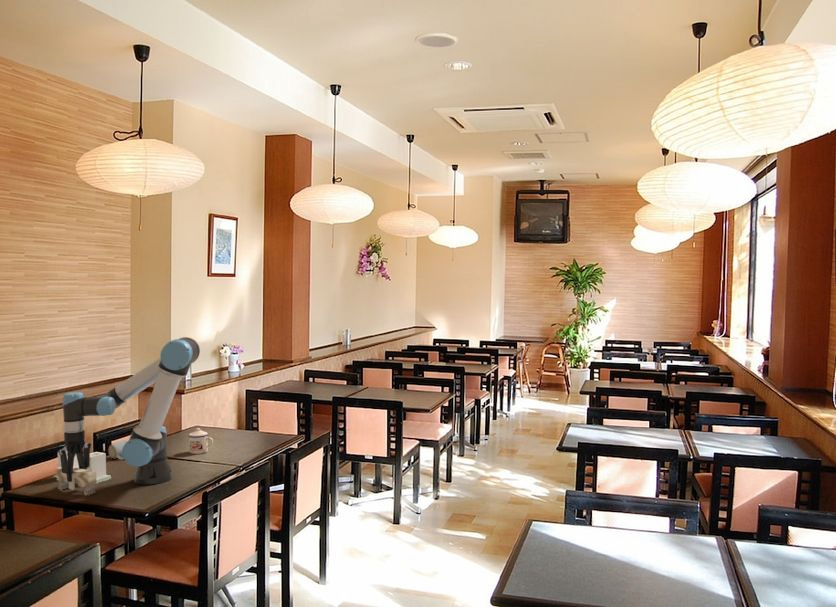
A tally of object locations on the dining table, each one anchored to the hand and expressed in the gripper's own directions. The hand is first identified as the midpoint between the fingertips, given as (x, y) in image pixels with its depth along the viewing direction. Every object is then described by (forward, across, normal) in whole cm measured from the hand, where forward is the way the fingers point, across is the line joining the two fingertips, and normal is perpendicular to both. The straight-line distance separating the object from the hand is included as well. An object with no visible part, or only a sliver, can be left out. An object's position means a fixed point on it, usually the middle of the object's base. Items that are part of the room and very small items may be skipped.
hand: (76, 487), depth 283 cm
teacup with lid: (+2, -69, 0) cm, 69 cm away
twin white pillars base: (+2, -13, -14) cm, 19 cm away
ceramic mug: (+2, -45, -28) cm, 53 cm away
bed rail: (+2, 0, 0) cm, 2 cm away
